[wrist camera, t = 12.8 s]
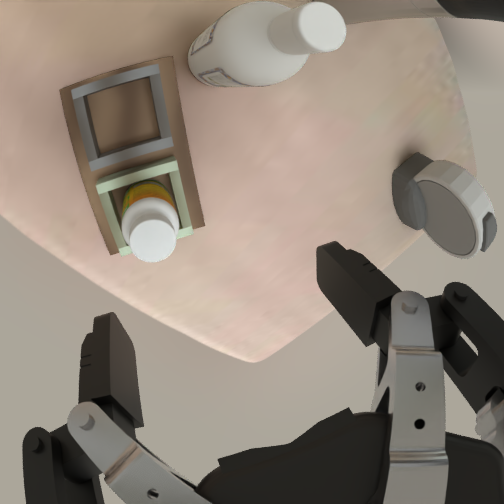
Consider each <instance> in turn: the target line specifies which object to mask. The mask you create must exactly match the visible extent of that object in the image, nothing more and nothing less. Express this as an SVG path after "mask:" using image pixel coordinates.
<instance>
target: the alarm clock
mask: <svg viewBox="0 0 504 504" xmlns="http://www.w3.org/2000/svg"><path fill="white" fill-rule="evenodd" d="M392 195H393V201H394V206H395V209H396V212H397V214H398V216H399V218H400V220H401V221H402V222H403V223H404V224H405V225H407V226H409V227H411V228H413V229H415V230H420V229H423V230H424V231H425V233H426V234H427V235H428V237H430V238H431V240H432V241H433V242H434V243H435V244H436V245H437V246H439V247H440V248H441V249H442V250H444V251H445V252H447V253H448V254H450V255H452V256H455V257H457V258H461V259H469V258H471V257H474V256H475V255H476V254H477V252H478V251H479V250H481V251H483V252H485V251H486V249H487V248H488V247H489V246H490V244H491V243H492V242H493V240H494V238H495V235H496V232H497V224H496V219H495V215H494V210H493V207H492V203H491V201H490V199H489V197H488V195H487V193H486V191H485V189H484V188H483V187H482V186H481V184H480V183H479V181H478V180H477V179H476V178H475V177H474V176H473V175H472V174H471V173H469V172H468V171H467V170H466V169H464V168H463V167H461V166H459V165H458V164H456V163H453V162H450V161H446V160H436V161H433V160H431V159H429V158H428V157H426V156H424V155H422V154H420V153H418V152H417V153H415V154H414V155H413V156H412V157H410V158H409V159H408V160H407V161H405V162H404V163H403V164H402V165H400V166H399V167H398V168H397V169H395V170H394V172H393V175H392Z"/></svg>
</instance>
